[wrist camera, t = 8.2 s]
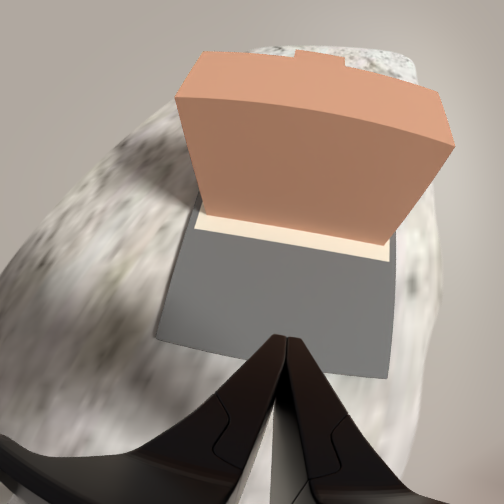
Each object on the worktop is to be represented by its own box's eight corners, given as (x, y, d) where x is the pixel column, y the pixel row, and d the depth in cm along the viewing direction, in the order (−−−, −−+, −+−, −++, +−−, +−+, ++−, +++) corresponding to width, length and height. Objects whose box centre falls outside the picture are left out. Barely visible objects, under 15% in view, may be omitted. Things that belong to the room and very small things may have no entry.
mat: (384, 378, 17) (387, 378, 16) (157, 339, 18) (155, 338, 18) (383, 110, 26) (385, 106, 25) (239, 86, 27) (239, 82, 27)
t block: (383, 245, 20) (455, 146, 11) (206, 215, 21) (174, 97, 12) (377, 110, 25) (405, 20, 16) (249, 89, 26) (245, -7, 17)
